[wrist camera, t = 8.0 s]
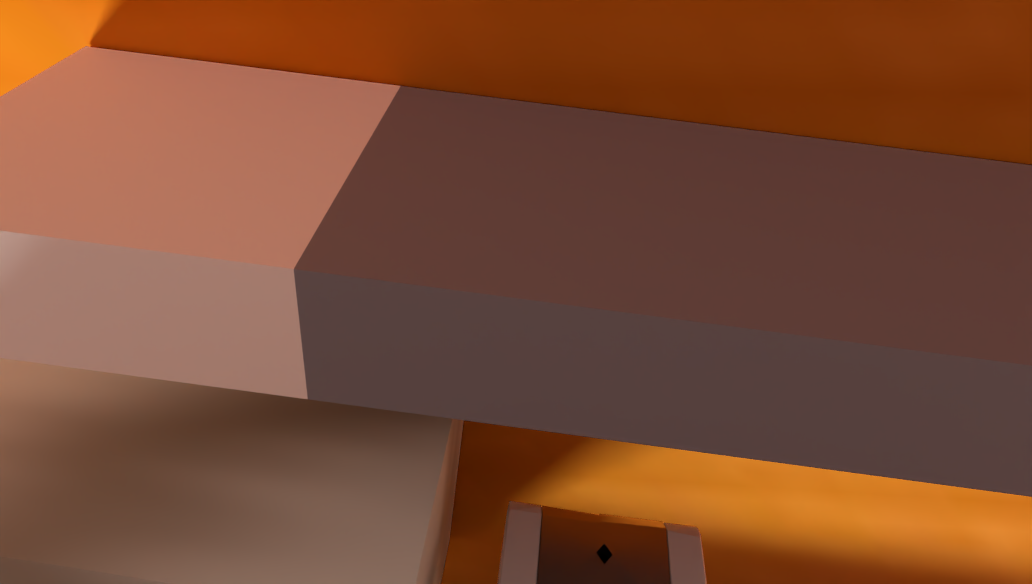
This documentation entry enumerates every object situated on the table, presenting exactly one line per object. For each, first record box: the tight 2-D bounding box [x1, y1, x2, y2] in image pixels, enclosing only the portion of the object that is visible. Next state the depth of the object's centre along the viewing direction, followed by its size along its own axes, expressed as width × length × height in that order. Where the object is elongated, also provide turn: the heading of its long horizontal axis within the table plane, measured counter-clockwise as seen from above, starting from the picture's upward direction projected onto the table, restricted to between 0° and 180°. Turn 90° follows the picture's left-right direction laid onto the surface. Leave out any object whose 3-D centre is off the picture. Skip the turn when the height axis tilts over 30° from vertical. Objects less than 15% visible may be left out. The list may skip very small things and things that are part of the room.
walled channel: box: [0, 46, 1032, 497], centre depth 11 cm, size 18×13×4 cm
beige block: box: [0, 358, 464, 584], centre depth 11 cm, size 6×6×5 cm
